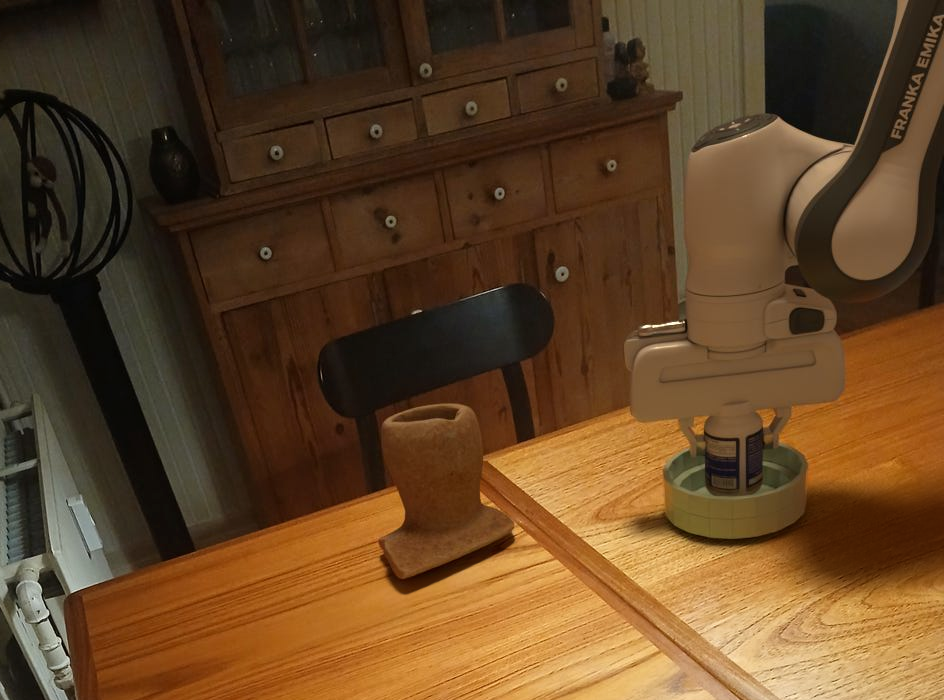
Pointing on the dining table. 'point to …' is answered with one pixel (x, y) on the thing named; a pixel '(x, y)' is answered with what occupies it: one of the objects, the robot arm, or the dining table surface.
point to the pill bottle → (734, 451)
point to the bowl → (738, 514)
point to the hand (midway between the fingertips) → (733, 451)
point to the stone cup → (437, 488)
